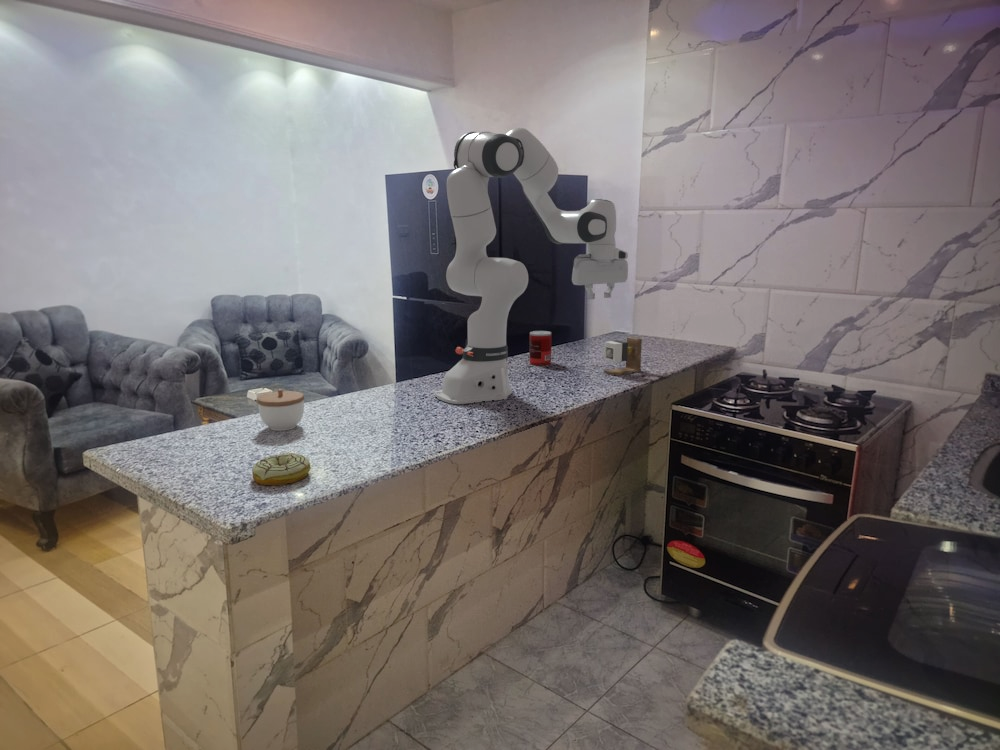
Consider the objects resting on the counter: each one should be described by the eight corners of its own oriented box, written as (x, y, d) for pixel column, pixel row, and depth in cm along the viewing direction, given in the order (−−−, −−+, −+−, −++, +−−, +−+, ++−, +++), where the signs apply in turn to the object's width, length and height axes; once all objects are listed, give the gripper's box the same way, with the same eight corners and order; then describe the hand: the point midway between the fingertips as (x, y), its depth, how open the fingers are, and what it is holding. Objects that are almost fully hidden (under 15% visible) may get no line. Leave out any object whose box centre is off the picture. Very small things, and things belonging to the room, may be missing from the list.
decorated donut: (247, 475, 131) (245, 457, 130) (301, 464, 136) (300, 447, 135) (260, 492, 122) (258, 473, 121) (317, 480, 128) (316, 461, 127)
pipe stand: (613, 375, 214) (615, 342, 212) (603, 373, 218) (604, 340, 216) (641, 371, 220) (642, 338, 218) (630, 368, 224) (631, 336, 222)
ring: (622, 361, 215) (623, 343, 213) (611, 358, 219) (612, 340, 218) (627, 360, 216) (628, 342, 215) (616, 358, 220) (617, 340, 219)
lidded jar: (315, 424, 163) (312, 387, 161) (281, 436, 154) (278, 397, 152) (284, 418, 168) (282, 382, 166) (250, 429, 159) (246, 391, 157)
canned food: (551, 361, 238) (551, 330, 235) (550, 365, 230) (551, 334, 227) (530, 360, 238) (530, 330, 236) (528, 365, 231) (529, 334, 228)
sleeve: (614, 362, 213) (615, 344, 212) (603, 359, 217) (604, 341, 216) (621, 361, 215) (622, 343, 213) (610, 358, 219) (611, 341, 218)
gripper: (581, 254, 197) (580, 301, 200) (631, 253, 207) (630, 297, 211) (567, 254, 202) (567, 299, 205) (618, 252, 213) (616, 295, 216)
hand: (599, 298), depth 208 cm, fingers open, 5 cm apart
